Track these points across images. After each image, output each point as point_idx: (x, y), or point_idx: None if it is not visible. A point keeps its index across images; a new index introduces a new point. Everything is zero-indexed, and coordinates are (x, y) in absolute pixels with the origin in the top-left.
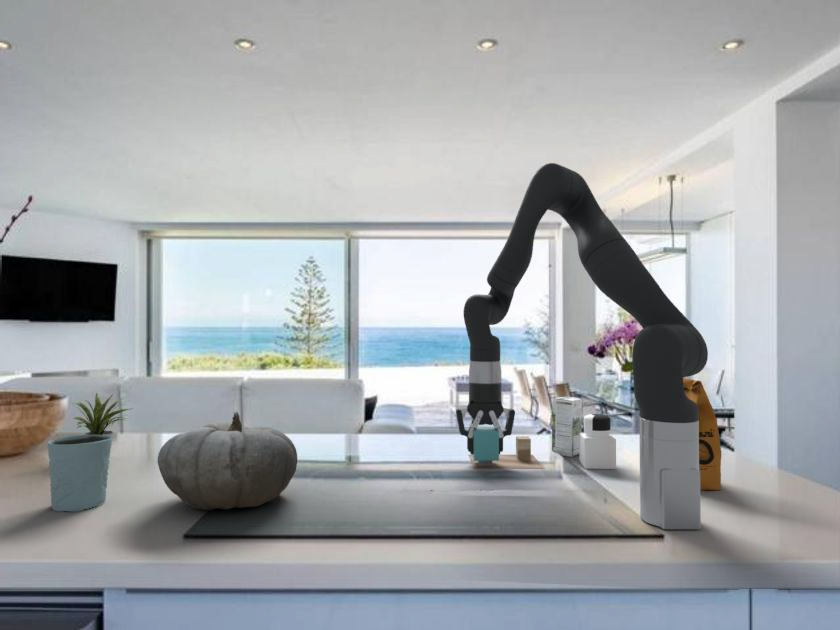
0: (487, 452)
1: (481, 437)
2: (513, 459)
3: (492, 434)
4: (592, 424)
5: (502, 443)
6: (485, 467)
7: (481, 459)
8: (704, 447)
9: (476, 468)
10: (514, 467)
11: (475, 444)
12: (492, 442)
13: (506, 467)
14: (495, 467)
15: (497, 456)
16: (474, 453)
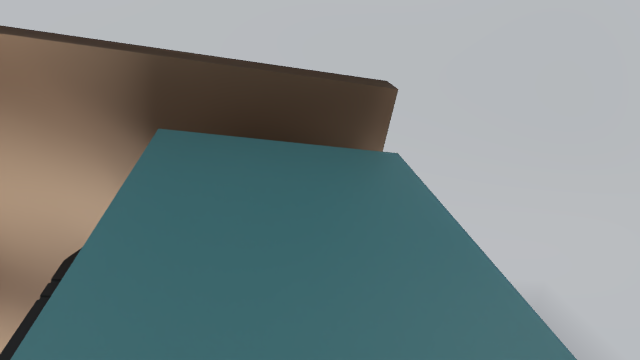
0: (281, 176)
1: (414, 301)
2: (11, 329)
3: (189, 354)
4: None
5: (35, 318)
6: (292, 116)
7: (336, 149)
8: None
9: (375, 93)
10: (11, 85)
11: (454, 235)
12: (209, 238)
13: (96, 96)
14: (204, 105)
15: (165, 147)
16: (419, 183)
